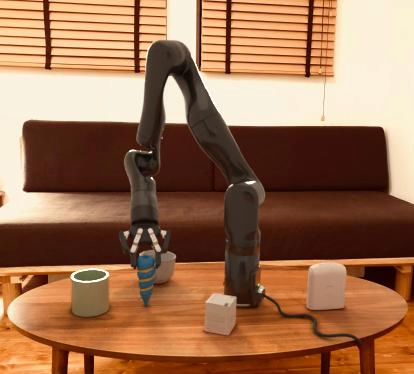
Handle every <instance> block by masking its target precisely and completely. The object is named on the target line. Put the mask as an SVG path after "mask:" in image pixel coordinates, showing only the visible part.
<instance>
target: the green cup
mask: <svg viewBox="0 0 414 374" xmlns="http://www.w3.org/2000/svg"><path fill="white" fill-rule="evenodd" d="M70 308H71V312H72V314H73V315H75V316H78V317H84V318H90V317H97V316H100V315H104V314H105V313H106V312H108V311H109V310H110V273H109V272H108V271H107V270H104V269H99V268H85V269H81V270H78V271H75V272H73V273H72V274H71V275H70Z"/></svg>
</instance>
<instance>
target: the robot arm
mask: <svg viewBox="0 0 414 374" xmlns="http://www.w3.org/2000/svg"><path fill="white" fill-rule="evenodd" d="M144 69H145V70H144V71H145V72H144V85H143V86H144V87H143V101H142V108H141V115H140V118H139V119H140V120H139V123H138V128H137V132H136V135H135V136H136V137H135V138H136V142H137V144H138V145H139V146H142V147H144V148H146V149H149V150H150V151H146V150H145V151H144V150H138V149H131V150H129V151H127V153H126V154H125V156H124V160H123V164H124V169H125V172H126V175H127V178H128V180H129V184H130V203H129V213H130V215H129V217H130V220H129V221H130V223H129V224H130V227H129V229H128V230H126V231H124V230H119V231H118V239H119V243H120V247H121V250H122V254H123V255H125V256H126V255H127V256H129V257H130V268H132V269H133V270H137V267H136V261H137V252H138V250H139V248H140V246H151V248H152V250H154V252H155V268H156V269H158V267H159V266H161V254H163V253H164V254H166V253H167V251H168V249H169V244H170V239H171V234H172V231H171V229H167V230H162V229H161V227H160V220H159V218H160V217H159V203H158V198H157V184H156V183H157V182H156V180H155V179H154V178H153V177H155V176H156V175H158V174H159V173H160V170H161V167H162V163H161V162H162V161H161V145H162V139H163V134H164V130H165V126H166V119H167V118H166V117H167V116H166V107H165V100H164V95H165V93H164V92H165V87H166V84H167V82H168V79H169V77H172V78H173V80H174V81H175V82H176V84H177V86H178V88H179V90H180V92H181V94H182V97H183V101H184V112H185V113H184V114H185V120H186V121H185V122H186V124H187V127H188V129H189V131H190V133H191V135H192V136H193V138H194V140H195V142H196V143H197V146H199V148H200V149H201V150H202V152H203V153H204V154H205V155H206V156H207V157H208V158H209V159H210V160H211V161H212V162H213V163H214V164H215V165H216V167H218V169H219V170H220V172H221V173H222V175H223V176H224V178H225V180H226V182H227V185H228V188H227V189H226V191H225V193H224V198H223V229H224V232H225V247H224V248H225V249H224V250H225V251H224V273H223V274H224V277H223V283H222V284H223V285H222V286H223V295H228V296H234V297H237V298H236V308H255V307H256V305H257V304H258V303H260V304H261V303H262V302H263V300H264V299H266V300H267V301H270V302H271V303H273V304H274V305H275V307H276V309H277V311H278V314H280V315H281V316H283V317H285V318H304V317H305V318H309V319H310V320H312V321H313V324H312V330H313V332H314V333H315V334H316V335H317V336H319V337H322V338H327V339H330V338H331V339H333V338H350V339H352V340H354V341H356V343H358V344H360V345H362V344H363V342H362V340H361V339H360V338H359V337H357V336H356V335H354V334H353V333H352V334H351V333H347V332H345V333H344V332H340V333H323V332H320V331H319V330H318V329H317V324H318V319H316V317H315V316H314V315H312V314H309V313H293V314H290V313H286V312H284V311H282V309H281V306H280V304H279V302H278V301H276V300H275V299H274V298H272V297H271V296H269V295H268V294H266V286H262V285H261V280H262V279H261V277H262V266H261V265H260V256H261V240H262V239H261V237H262V231H261V229H260V228H259V210H260V209H262V207H263V206H264V204H265V201H266V192H265V188H264V186H263V184H262V183H261V181H260V180H259V179H258V177H257V176H256V174H255V173H254V171H253V169H252V168H251V167H250V166H249V164H248V162H247V161H246V160H245V158H244V156H243V154H242V152H241V150H240V148H239V146H238V144H237V141H236V140H235V138H234V136H233V134H232V132H231V130H230V128H229V126H228V124H227V122H226V121H225V119H224V117H223V115H222V113H221V112H220V109H219V108H218V107H217V105H216V103H215V101H214V99H213V97H212V95H211V94H210V91H209V90H208V88H207V87H206V84H205V82H204V80H203V78H202V76H201V73H200V71H199V69H198V65H197V64H196V62H195V59H194V57H193V55H192V52H191V51H190V49H189V48H188V46H187V45H186V44H185V43H184V42H182V41H180V40H175V39H158V40H155V41H153V42H152V43H151V44H150V45H149V47H148V49H147V53H146V58H145V68H144ZM160 236H161V238H162V240H164V241H163V245H162V246H160V245H159V241H158V238H159V237H160ZM129 237H130V238H131V239H132V241H133V242H132V246H131V247H129V245H128V243H127V240H128V238H129Z"/></svg>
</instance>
